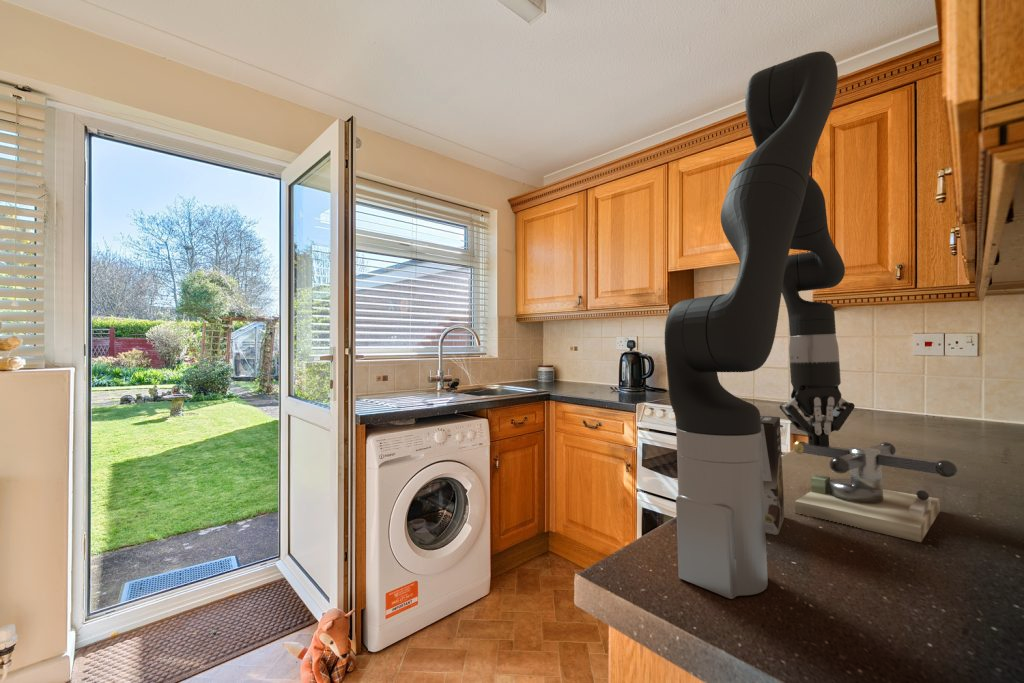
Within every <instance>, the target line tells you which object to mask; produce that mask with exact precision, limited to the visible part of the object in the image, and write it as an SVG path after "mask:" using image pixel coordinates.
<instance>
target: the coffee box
mask: <svg viewBox="0 0 1024 683" xmlns="http://www.w3.org/2000/svg"><path fill="white" fill-rule="evenodd" d="M760 417H761V439H762V465H763V489H764V512H765V534H770V535H773V536H774V535H775V536H776V535H777V536H778V535H779V533H780V531H781V528H782V525H783V523H784V519H785V496H784V477H783V474H784V473H783V458H782V456H783V452H782V438H781V437H782V436H781V435H782V434H781V433H782V432H781V417H780V416H772V415H771V416H769V415H768V416H767V415H760Z"/></svg>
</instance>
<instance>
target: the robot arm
mask: <svg viewBox="0 0 1024 683" xmlns="http://www.w3.org/2000/svg"><path fill="white" fill-rule="evenodd" d="M838 73H839V72H838V65H837V63H836V60H835V57H833V55H832V54H830V53H829V52H828V51H824V50H821V51H814V52H813V51H812V52H809V53H805V54H801V55H800V56H797V57H794V58H792V59H789V60H786V61H783V62H780V63H778V64H775V65H772V66H769V67H767V68H765V69H764V68H763V69H762V70H758V71H757V72H755V73H754V74H753V75H752V76H751V77H750V79H749V80H748V83H747V86H746V90H745V95H744V96H745V97H744V98H745V103H744V104H745V113H746V118H747V122H748V126H749V130H750V133H751V136H752V140H753V142H754V145H755V149H754V150H753V151H752V152H751V153H750V154H749V155H747V157H746V158H745V159H744V160H743V162H741V163H740V165H739V166H738V167H737V168H736V170H735V172H734V174H733V175H732V177H731V180H730V182H729V185H728V188H727V191H726V194H725V196H724V199H723V203H722V207H721V211H720V224H721V228H722V230H723V233H724V236H726V239H727V241H728V242H729V244H730V246H731V247H732V249H733V250H734V253H735V254H736V255H737V257H738V260H739V268H738V274H737V277H736V280H735V283H734V285H733V287H732V288H731V290H730V291H729V292H727V293H722V294H714V295H709V296H702V297H701V296H700V297H696V298H695V297H694V298H689V299H684V300H681V301H678V302H677V303H675V304H674V305H673V306H672V308H671V309H670V310H669V312H668V314H667V317H666V322H665V325H664V326H665V327H664V352H665V365H666V372H667V374H666V375H667V385H668V386H667V387H668V396H669V397H668V398H669V403H670V406H671V408H672V410H673V413H674V417H675V429H676V435H675V436H676V458H677V459H676V461H677V462H676V464H677V465H676V466H677V468H676V469H677V489H678V490H677V491H678V492H677V493H678V496H676V498H675V505H676V506H675V508H676V509H675V510H676V511H675V512H676V513H675V514H676V536H677V537H676V538H677V539H676V540H677V542H676V543H677V565H678V568H677V569H678V570H677V571H678V578H679V579H681V580H683V581H685V582H688V583H691V584H693V585H695V586H697V587H700V588H703V589H705V590H706V591H707V590H708V591H710V592H713V593H715V594H718V595H720V596H722V597H724V598H727V599H730V600H732V599H734V598H736V597H739V596H740V597H741V596H753V595H757V594H760V593H762V592H764V591H765V590H766V589H767V587H768V584H769V582H768V561H767V560H768V558H767V541H766V540H767V539H766V535H767V534H766V533H765V512H764V489H763V465H762V439H761V417H760V416H761V413H760V410H759V409H758V407H757V406H756V405H754V404H753V403H750V402H749V401H747V400H744V399H741V398H739V397H738V396H736V395H734V394H732V393H730V392H729V391H728V390H727V389H725V387H724V386H723V385H722V384H721V382H720V380H719V376H718V373H750V372H755V371H757V370H759V369H760V368H761V367H762V366H763V365H765V363H766V361H767V359H768V358H769V356H770V354H771V352H772V349H773V345H774V343H775V342H774V341H775V338H776V334H777V333H776V332H777V328H778V320H779V313H780V306H781V298H782V297H783V300H784V303H785V305H786V309H787V315H788V316H787V317H788V327H789V344H788V345H789V346H788V354H789V356H788V357H789V372H790V373H789V374H790V383H791V386H792V391H791V394H790V399H789V400H788V401H787V402H786V403H780V404H779V409H780V410H781V412H782V413H783V414H784V415H785V416H786V418H787V419H788V420H789V421H790V423H791V424H792V425H793V426H794V427H795V428H796V429H797V430H799V431H802V432H805V433H807V440H808V441H807V443H810V444H818V445H825V446H830V438H829V437H830V434H831V433H832V432H835V431H837V432H838V431H840V430H841V428H842V427H843V425H844V424H845V422H846V421H847V420H848V418H849V416H850V415H851V414H852V412H853V410H854V409H855V404H854V403H853V402H849V401H847V400H845V399H844V398H843V397H842V393H841V391H840V389H839V388H840V387H839V386H840V385H841V383H842V382H841V381H842V380H841V368H840V367H841V366H840V350H839V344H838V339H837V335H836V333H837V332H836V330H837V329H836V318H835V317H836V315H835V308H834V306H833V305H832V304H831V303H828V302H823V301H811V300H806V299H803V298H802V297H801V296H800V292H804V291H805V292H806V291H807V292H808V291H815V290H825V289H831V288H834V287H836V286H838V285H839V284H840V283H841V282H842V281H843V279H844V277H845V274H846V268H845V264H844V263H845V262H844V261H843V258H842V257H841V254H840V252H839V250H838V249H837V247H836V246H835V244H834V242H833V240H832V237H831V234H830V231H829V227H828V226H829V224H828V217H827V207H826V206H827V205H826V198H825V196H824V192H823V190H822V188H821V186H820V185H819V183H818V182H817V181H816V180H815V179H814V177H812V176H811V175H810V174H811V170H812V166H813V161H814V157H815V153H816V150H817V147H818V143H820V138H821V136H822V134H823V131H824V128H825V127H826V124H827V121H828V119H829V117H830V114H831V112H832V108H833V104H834V102H835V97H836V94H837V93H836V92H837V88H838V80H839V79H838V78H839V76H838V75H839V74H838ZM790 250H796V251H806V252H801V253H795V254H790ZM807 251H808V252H807ZM799 411H800V412H801V413H800V412H799ZM817 456H819V455H817Z"/></svg>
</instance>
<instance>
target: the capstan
mask: <svg viewBox="0 0 1024 683" xmlns="http://www.w3.org/2000/svg"><path fill="white" fill-rule="evenodd" d="M792 449H793V451H794V452H795V453H796V454H798V455H804V454H807V455H814V456H818V455H819V456H820V457H826V458H831V459H830V461H829V468H830V469H831V471H833V472H834V473H836V474H841V475H842V474H845V473H848V472H849V474H850V475H849V476H850V477H849V478H844V477H843V478H832V479H831V478H830V480H829V487H830V493H831V494H833V495H835V496H837V497H840V498H844V499H849V500H854V501H862V502H880V501H883V500H884V499H883V489H884V487H883V475H882V474H883V473H882V466H883V467H890V468H897V469H898V468H899V469H902V470H910V471H915V472H916V471H917V472H924V473H930V474H936V475H939V476H941V477H944V478H952V477H955V476H956V475H957V473H958V467H957V465H956V464H955V463H954V462H952V461H950V460H947V459H942V460H933V459H926V458H920V457H911V456H904V455H898V454H897V455H896V452H897V449H896V446H895V445H894V444H892V443H890V442H887V441H883V442H881V443H880V444H877V445H873V446H871V447H864V446H850V447H848V448H845V447H838V446H831V445H829V446H825V445H818V444H810V443H808V442H805V441H804V440H796V441H794V442H793V444H792Z"/></svg>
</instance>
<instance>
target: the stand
mask: <svg viewBox="0 0 1024 683" xmlns="http://www.w3.org/2000/svg"><path fill="white" fill-rule="evenodd" d="M829 480H831V477H830V476H827V475H822V474H821V475H819V474H816V475H814V476H812V477H811V478H810V481H811V490H810V491H808V492H807V493H805V494H804V495H803V496H801V497H799V498H798V499H796V500H795V501H794V503H795V504H794V508H795V514H796V513H801V514H804V515H809V516H813V517H817V518H821V519H825V520H824V521H826V520H829V521H828V522H830V521H833V522H832V523H834V522H837V523H836V524H839V523H842V524H841V525H843V524H846V525H845V526H847V525H850V526H849V527H852V526H854V527H853V528H856V527H857V529H860V528H861V529H862V530H865V531H870V532H874V533H877V534H883V535H888V536H892V537H896V538H900V539H904V540H909V541H913V542H917V543H922V542H923V540H924V539H925V537H926V535H927V533H928V531H929V530H930V528H931V526H932V525H933V524H934V522H935V520H936V518H938V515H939V514H940V511H941V509H940V508H941V507H940V506H941V505H940V498H936V497H931V496H930V494H929V493H928V492H927V491H926V490H918V491H916V494H914V493H907V492H901V491H895V490H891V489H890V490H889V489H885V488H883V499H884V500H883V501H880V502H862V501H854V500H849V499H844V498H840V497H837V496H835V495H833V494H831V493H830V487H829ZM804 515H803V516H804ZM809 516H808V517H809ZM813 517H812V518H813ZM817 518H816V519H817ZM821 519H820V520H821Z"/></svg>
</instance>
